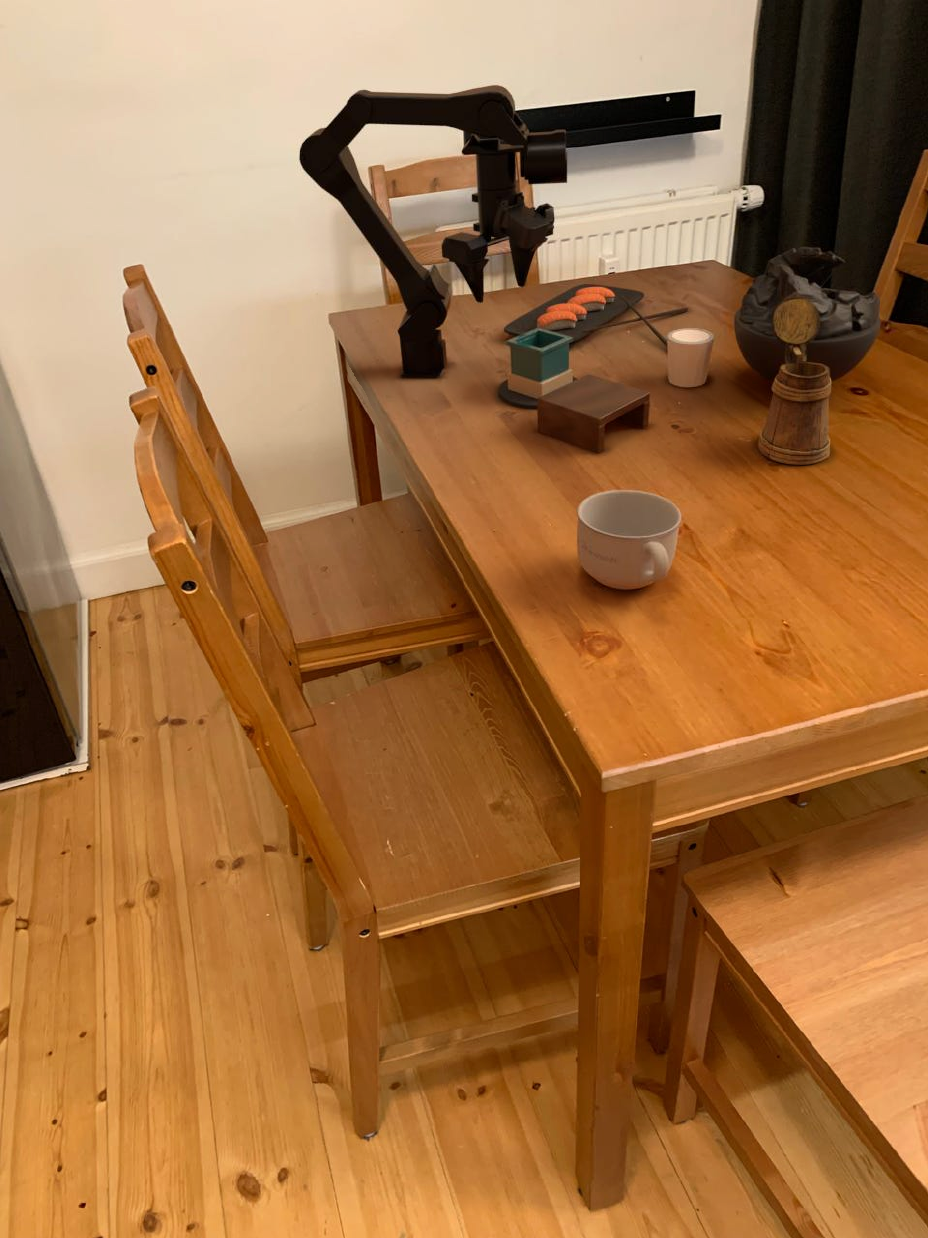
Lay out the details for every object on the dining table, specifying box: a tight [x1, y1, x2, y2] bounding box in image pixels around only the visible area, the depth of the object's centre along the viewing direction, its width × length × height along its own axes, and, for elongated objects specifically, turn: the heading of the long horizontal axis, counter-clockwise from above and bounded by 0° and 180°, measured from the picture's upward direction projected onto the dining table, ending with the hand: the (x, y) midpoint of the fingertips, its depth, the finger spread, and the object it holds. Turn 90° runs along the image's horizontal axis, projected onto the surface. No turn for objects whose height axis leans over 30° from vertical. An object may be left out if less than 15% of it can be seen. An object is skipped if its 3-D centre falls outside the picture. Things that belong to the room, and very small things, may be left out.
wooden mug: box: [757, 292, 832, 465], centre depth 123 cm, size 9×14×18 cm, turn 178°
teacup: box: [576, 489, 683, 590], centre depth 101 cm, size 14×11×8 cm
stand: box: [536, 373, 651, 454], centre depth 134 cm, size 11×11×5 cm
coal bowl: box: [733, 246, 882, 384], centre depth 138 cm, size 20×20×19 cm
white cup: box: [666, 327, 715, 388], centre depth 145 cm, size 7×7×7 cm
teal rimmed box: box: [505, 328, 574, 399], centre depth 144 cm, size 8×7×7 cm
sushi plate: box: [503, 283, 689, 349], centre depth 166 cm, size 29×30×4 cm
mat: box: [497, 376, 578, 410], centre depth 146 cm, size 13×13×1 cm
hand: (500, 294), depth 148 cm, fingers open, 9 cm apart
